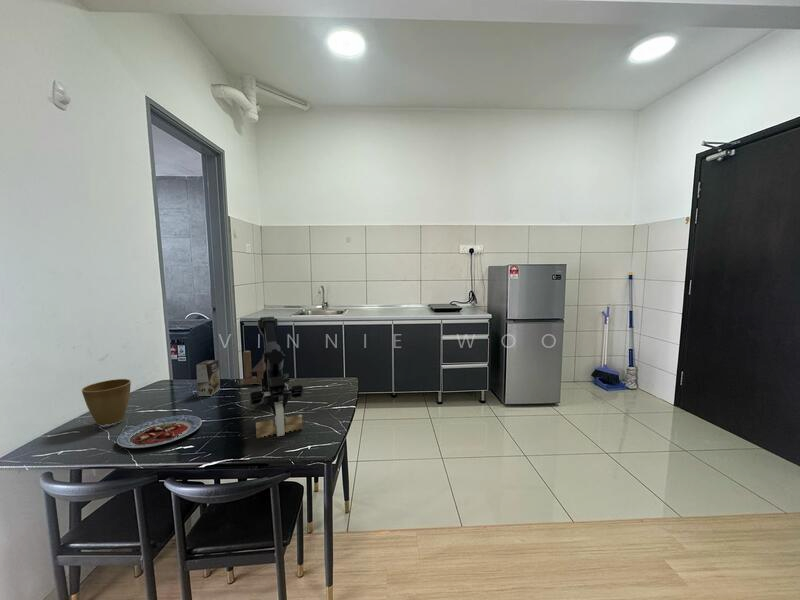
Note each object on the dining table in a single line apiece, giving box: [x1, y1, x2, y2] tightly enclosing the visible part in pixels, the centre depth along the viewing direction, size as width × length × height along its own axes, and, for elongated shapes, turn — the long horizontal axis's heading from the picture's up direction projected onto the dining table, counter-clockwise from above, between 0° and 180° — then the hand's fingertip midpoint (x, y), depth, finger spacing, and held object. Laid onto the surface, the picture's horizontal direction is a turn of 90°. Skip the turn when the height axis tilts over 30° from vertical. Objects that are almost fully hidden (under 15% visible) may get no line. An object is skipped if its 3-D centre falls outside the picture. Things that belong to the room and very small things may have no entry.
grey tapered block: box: [274, 400, 285, 437], centre depth 128 cm, size 8×2×10 cm, turn 25°
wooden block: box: [242, 350, 266, 385], centre depth 185 cm, size 4×11×18 cm, turn 95°
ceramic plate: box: [116, 414, 203, 449], centre depth 128 cm, size 26×26×3 cm
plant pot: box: [81, 378, 132, 425], centre depth 138 cm, size 15×15×16 cm
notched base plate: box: [255, 414, 304, 439], centre depth 128 cm, size 16×2×5 cm, turn 115°
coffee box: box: [195, 359, 221, 397], centre depth 171 cm, size 9×6×16 cm
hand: (279, 415), depth 127 cm, fingers closed on grey tapered block, 2 cm apart
